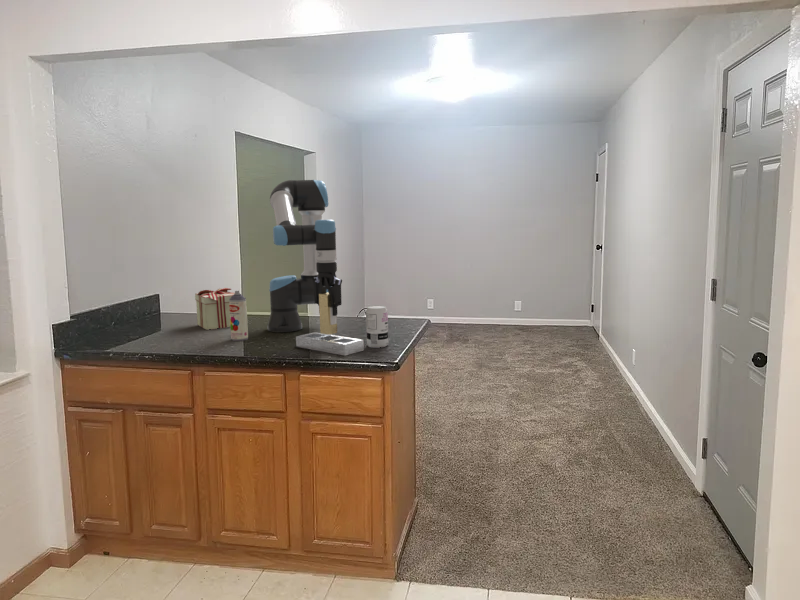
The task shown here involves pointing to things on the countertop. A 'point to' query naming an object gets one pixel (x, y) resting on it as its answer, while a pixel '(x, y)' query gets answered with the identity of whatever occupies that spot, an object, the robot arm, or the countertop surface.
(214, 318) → the gift box
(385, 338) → the supplement can
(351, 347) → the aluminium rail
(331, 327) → the brass peg
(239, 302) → the aerosol can
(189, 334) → the countertop surface
